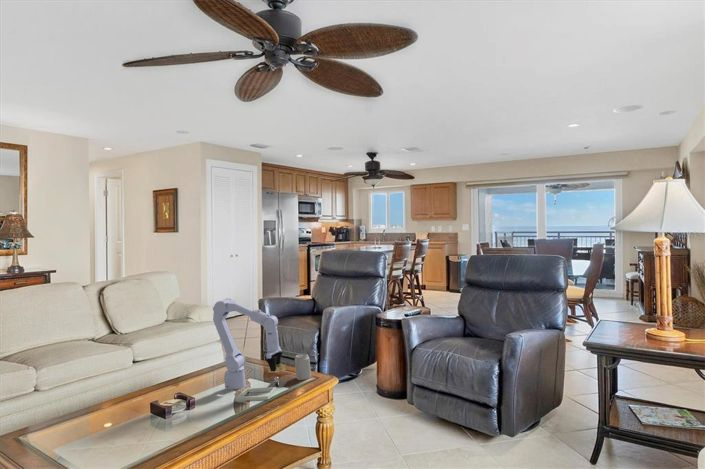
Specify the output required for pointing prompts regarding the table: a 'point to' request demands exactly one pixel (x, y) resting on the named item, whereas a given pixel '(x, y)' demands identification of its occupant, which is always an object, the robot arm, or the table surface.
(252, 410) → the table surface
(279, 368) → the square frame with tab
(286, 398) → the table surface
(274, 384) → the square base with knob
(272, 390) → the tray
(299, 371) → the can
